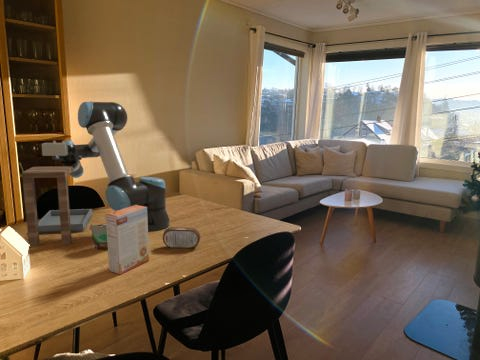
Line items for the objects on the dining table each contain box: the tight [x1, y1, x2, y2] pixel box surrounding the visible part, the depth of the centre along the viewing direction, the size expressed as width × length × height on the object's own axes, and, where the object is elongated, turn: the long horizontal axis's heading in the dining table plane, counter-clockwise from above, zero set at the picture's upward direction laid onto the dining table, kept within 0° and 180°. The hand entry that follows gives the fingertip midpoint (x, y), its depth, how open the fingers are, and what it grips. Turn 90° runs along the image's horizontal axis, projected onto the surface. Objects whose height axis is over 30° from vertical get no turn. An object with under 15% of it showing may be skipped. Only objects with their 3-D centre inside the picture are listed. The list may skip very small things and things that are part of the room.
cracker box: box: [105, 205, 150, 276], centre depth 126 cm, size 14×6×21 cm, turn 150°
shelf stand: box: [21, 165, 73, 248], centre depth 146 cm, size 14×15×30 cm
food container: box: [89, 222, 108, 251], centre depth 142 cm, size 12×6×10 cm, turn 117°
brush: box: [41, 142, 68, 157], centre depth 159 cm, size 16×9×5 cm, turn 13°
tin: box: [162, 226, 201, 249], centre depth 145 cm, size 15×3×8 cm, turn 92°
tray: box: [38, 208, 93, 234], centre depth 169 cm, size 24×20×4 cm
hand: (58, 143), depth 160 cm, fingers closed on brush, 3 cm apart
